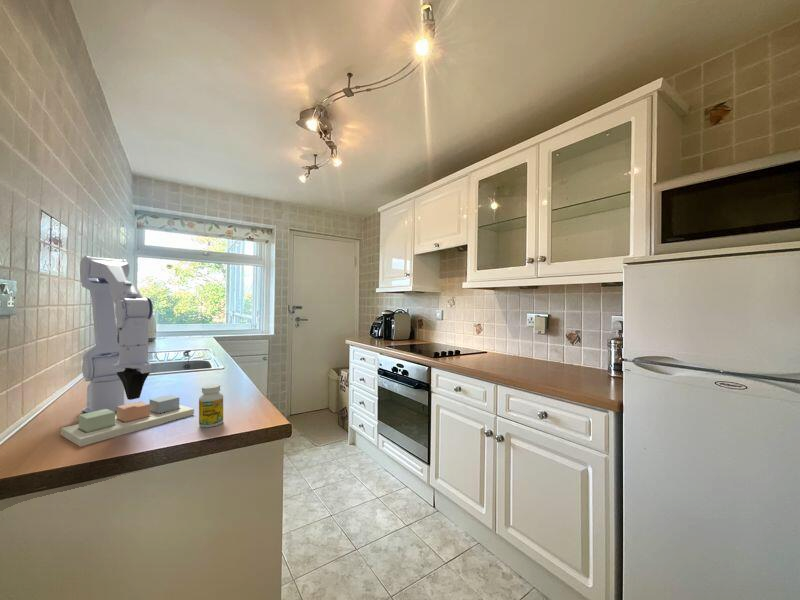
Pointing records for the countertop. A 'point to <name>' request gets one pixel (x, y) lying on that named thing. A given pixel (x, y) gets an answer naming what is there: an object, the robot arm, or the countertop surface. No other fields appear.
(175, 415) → the panel
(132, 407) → the terracotta button
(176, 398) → the slate button
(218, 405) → the supplement bottle
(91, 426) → the sage button
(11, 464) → the countertop surface
